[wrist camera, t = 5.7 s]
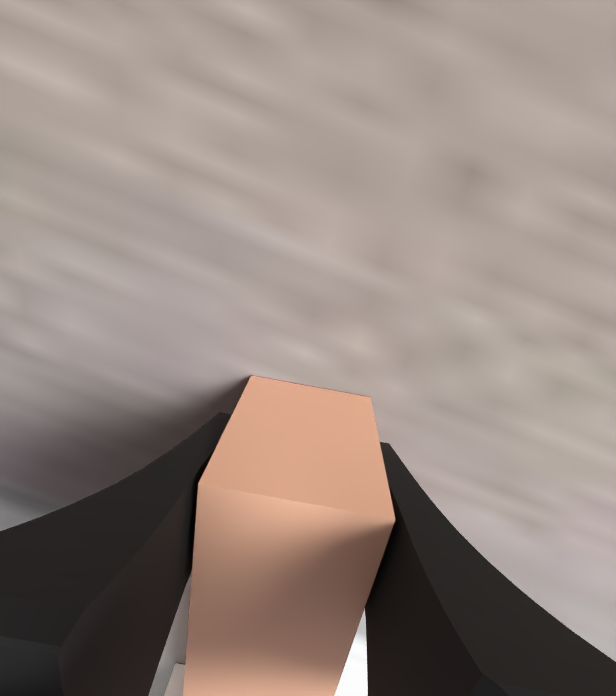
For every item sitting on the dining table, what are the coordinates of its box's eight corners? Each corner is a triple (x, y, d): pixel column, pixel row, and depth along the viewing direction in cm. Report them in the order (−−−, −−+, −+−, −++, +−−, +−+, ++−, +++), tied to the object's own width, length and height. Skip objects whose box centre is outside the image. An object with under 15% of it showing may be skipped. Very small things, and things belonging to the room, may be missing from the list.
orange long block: (370, 397, 12) (395, 519, 7) (295, 677, 18) (282, 845, 13) (251, 375, 12) (198, 483, 7) (215, 663, 18) (173, 826, 13)
